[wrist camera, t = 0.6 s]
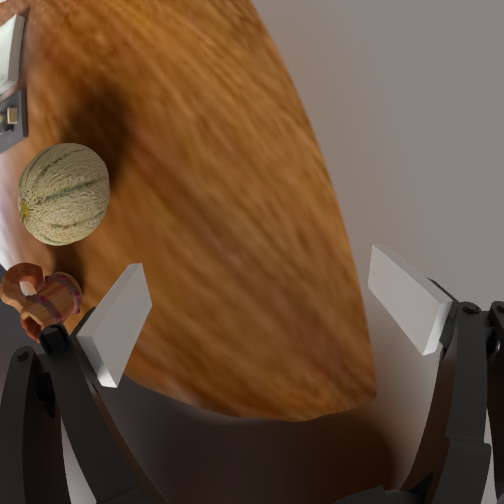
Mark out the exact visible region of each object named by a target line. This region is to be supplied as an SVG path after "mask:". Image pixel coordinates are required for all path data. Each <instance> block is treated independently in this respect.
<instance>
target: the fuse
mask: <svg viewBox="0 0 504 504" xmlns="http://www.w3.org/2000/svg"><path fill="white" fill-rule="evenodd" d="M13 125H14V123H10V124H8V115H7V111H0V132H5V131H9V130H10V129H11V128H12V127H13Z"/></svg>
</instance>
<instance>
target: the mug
mask: <svg viewBox="0 0 504 504" xmlns="http://www.w3.org/2000/svg"><path fill="white" fill-rule="evenodd" d="M21 281H29V282H30V283H32V284H33V285H34V288H35V290H36V292H37V294H34V295H32V296H30V295H28V296H26V299H25V298H24V297H23V295H22V292H21V288H20V284H19V282H21ZM0 297H1V299H2V301H3V302H4V303H6V304H8V305H11V306H14V307H15V308H16V309H17V310H18V311H19V312H20V314H21V315H20V316H21V320H20V322H21V325H22V327H23V328H24V329H26V333H27V334H28V335H29V336H30V337H32V338H33V339H36V341H37V342H38V343H40V341H39V339H38V335H39V333H40V332H41V330H43V329H44V328H45V327H47V326H49V325H51V324H55V323H60V324H63V323H64V322H65V320H66V319H67V318H68V317H69V315H72V314H74V313H75V314H79V313H80V309H79V306H80V303H81V300H82V291H81V288H80V286H79V284H78V282H77V281H76V279H74V277H73V276H71V275H70V274H68V273H64V272H55V273H54V274H53V275H50V276H48V275H47V276H45V282H44V279H43V273H42V268H41V267H40V266H38V265H35V264H31V263H20V264H17V265H14V266H13V267H11V268H10V269H9V270H8V271H7V272H6V273H5V275H4V277H3V278H2V282H1V286H0Z"/></svg>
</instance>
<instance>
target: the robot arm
mask: <svg viewBox="0 0 504 504" xmlns="http://www.w3.org/2000/svg"><path fill="white" fill-rule="evenodd" d="M368 288H369V289H370V290H371V291H372V292H373V293H374V295H375V296H376V297H377V298H378V299H379V301H380V302H381V303H382V304H383V305H384V307H385V308H386V309H387V311H388V312H389V313H390V314H391V315H392V317H393V318H394V319H395V320H396V322H397V323H398V324H399V326H400V327H401V328H402V329H403V331H404V332H405V333H406V335H407V336H408V337H409V339H410V340H411V341H412V342H413V344H414V345H415V346H416V348H417V349H418V350H419V352H420V353H421V354H422V355H426V354H429V353H432V352H434V351H435V350H436V347H437V345H438V342H439V341H440V343H441V344H442V345H443V348H442V350H441V353H440V355H439V357H438V360H437V362H436V365H437V364H438V362H439V367H438V372H437V378H436V384H435V389H434V393H433V398H432V403H431V407H430V411H429V415H428V419H427V422H426V426H425V429H424V433H423V436H422V439H421V443H420V446H419V449H418V452H417V454H416V457H415V460H414V463H413V466H412V468H411V471H410V473H409V475H408V477H407V478H406V480H405V481H404V483H403V484H402V486H401V487H400V489H399V491H384V488H383V486H379V487H376V488H373V489H370V490H367V491H363V492H360V493H357V494H353V495H350V496H347V497H345V498H343V499H341V500H339V501H337V502H335V503H332V504H481V500H482V496H483V493H484V488H485V484H486V480H487V475H488V470H489V464H490V458H491V446H490V444H486V443H484V432H485V423H486V410H488V415H489V421H490V429H491V437H492V446H493V461H494V481H495V490H496V498H497V504H504V302H502V301H495V302H493V303H492V305H491V308H490V310H489V311H481V309H480V308H479V307H478V306H477V305H475V304H474V303H471V302H458V301H457V300H456V299H455V298H454V297H453V296H452V295H450V294H449V293H448V292H447V291H445V289H443V288H442V287H441V286H440V285H439V284H438V283H436V282H435V281H433V280H431V279H429V278H427V277H425V276H424V275H423V274H422V273H420V272H419V271H418V270H416V269H415V268H414V267H413V266H412V265H410V264H409V263H408V262H407V261H405V260H404V259H403V258H402V257H400V256H399V255H398V254H396V253H395V252H394V251H393V250H391V249H390V248H388V247H387V246H386V245H385V244H374V245H372V256H371V265H370V274H369V281H368ZM151 307H152V302H151V298H150V295H149V291H148V287H147V283H146V279H145V275H144V271H143V266H142V263H137V264H129V266H128V267H127V268H126V269H125V271H124V272H123V273H122V274H121V276H120V277H119V278H118V279H117V281H116V282H115V283H114V285H113V286H112V287H111V289H110V290H109V291H108V292H107V294H106V295H105V296H104V298H103V299H102V300H101V302H100V303H99V304H98V306H97V307H93V308H92V309H91V310H89V311H88V312H87V313H86V314H85V315H84V317H83V318H82V320H81V321H80V322H79V323H78V325H77V326H76V328H75V329H74V330H73V332H72V333H71V335H70V336H69V335H68V333H67V331H66V329H65V327H64V325H63V324H60V323H55V324H51V325H49V326H47V327H45V328H44V329H43V330H41V332H40V333H39V335H38V339H39V341H40V343H41V345H42V347H43V349H44V351H45V352H46V354H39V355H36V353H35V351H34V349H33V348H32V347H30V346H24V347H20V348H19V349H17V350H16V352H15V353H14V354H13V356H12V358H11V361H10V365H9V369H8V372H7V376H6V381H5V385H4V390H3V394H2V399H1V405H0V504H71V501H70V496H69V491H68V485H67V479H66V473H65V466H64V458H63V448H62V436H61V417H62V420H63V423H64V426H65V429H66V432H67V435H68V438H69V441H70V443H71V446H72V449H73V451H74V453H75V456H76V459H77V461H78V463H79V466H80V468H81V470H82V472H83V475H84V477H85V479H86V481H87V483H88V485H89V487H90V489H91V491H92V493H93V495H94V497H95V499H96V502H97V503H96V504H169V503H168V501H167V500H166V499H165V498H164V496H163V495H162V494H161V493H160V492H159V490H158V489H157V488H156V486H155V485H154V484H153V482H152V481H151V480H150V478H149V477H148V475H147V474H146V473H145V471H144V470H143V468H142V467H141V465H140V464H139V463H138V461H137V459H136V458H135V456H134V455H133V454H132V452H131V450H130V449H129V447H128V445H127V444H126V442H125V440H124V439H123V437H122V435H121V434H120V432H119V430H118V428H117V427H116V425H115V423H114V421H113V419H112V417H111V416H110V414H109V412H108V410H107V408H106V406H105V404H104V402H103V400H102V398H101V396H100V394H99V392H98V389H97V387H96V386H95V384H94V381H95V379H96V377H97V378H98V379H99V381H100V383H101V384H102V386H108V387H117V386H118V384H119V381H120V379H121V376H122V374H123V371H124V369H125V366H126V364H127V361H128V359H129V357H130V354H131V352H132V350H133V347H134V345H135V343H136V340H137V338H138V336H139V333H140V331H141V329H142V327H143V324H144V322H145V320H146V318H147V316H148V313H149V311H150V309H151ZM499 343H500V348H499V351H498V348H497V347H498V345H499Z"/></svg>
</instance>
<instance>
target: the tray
mask: <svg viewBox="0 0 504 504" xmlns="http://www.w3.org/2000/svg"><path fill="white" fill-rule="evenodd" d="M24 23H25V17H22V16H20V15H18V14H16V15H15V16H13V17H12V18H11V19H10V20H8V21H7V22H6V23H5V24H4V25H2V26H1V27H0V95H1V94H3V93H4V92H5V91H6V90H8V89H9V88H10V87H12V86H13V85H14V84H16V83H17V82H19V63H20V52H21V43H22V35H23V28H24Z"/></svg>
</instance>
